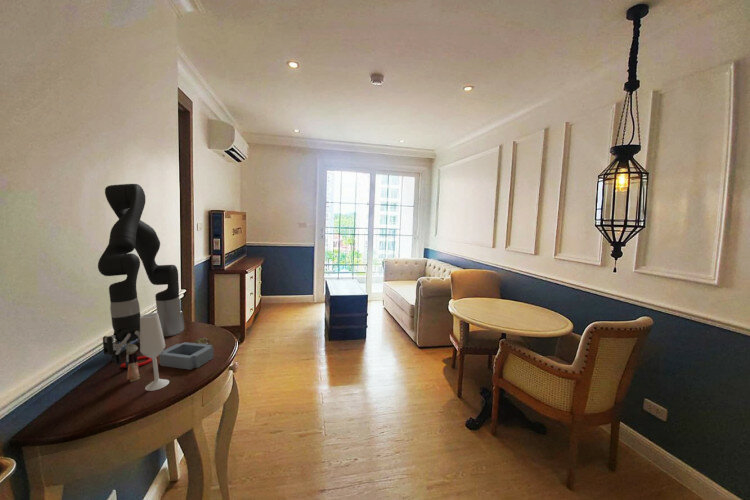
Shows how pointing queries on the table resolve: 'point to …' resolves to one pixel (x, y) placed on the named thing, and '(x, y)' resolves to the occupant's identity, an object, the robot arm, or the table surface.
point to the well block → (186, 355)
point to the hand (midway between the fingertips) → (131, 358)
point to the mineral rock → (202, 341)
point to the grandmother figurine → (132, 363)
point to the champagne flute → (152, 346)
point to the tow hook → (137, 359)
